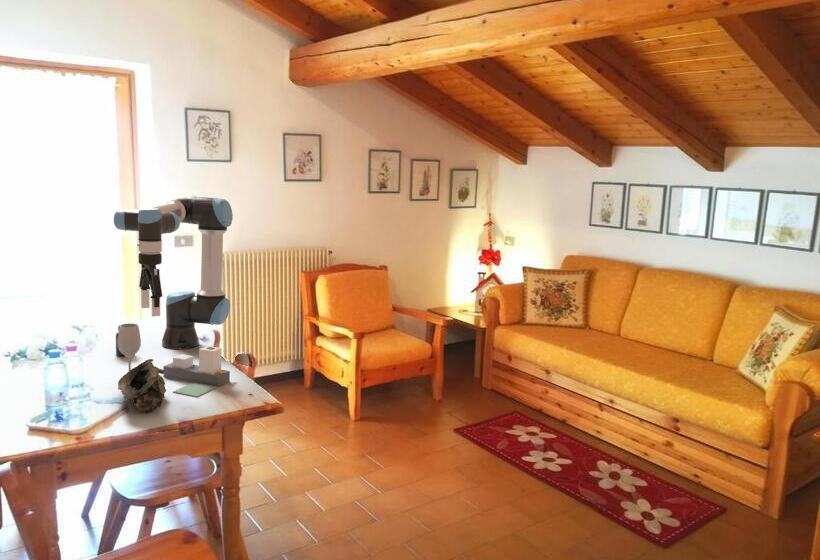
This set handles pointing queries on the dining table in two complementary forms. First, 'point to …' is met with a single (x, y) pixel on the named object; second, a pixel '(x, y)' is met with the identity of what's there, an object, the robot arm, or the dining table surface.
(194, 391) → the felt mat
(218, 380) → the power strip
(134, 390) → the hollow geode rock
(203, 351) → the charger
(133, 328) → the wineglass
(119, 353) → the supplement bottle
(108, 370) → the dining table surface
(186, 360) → the block
